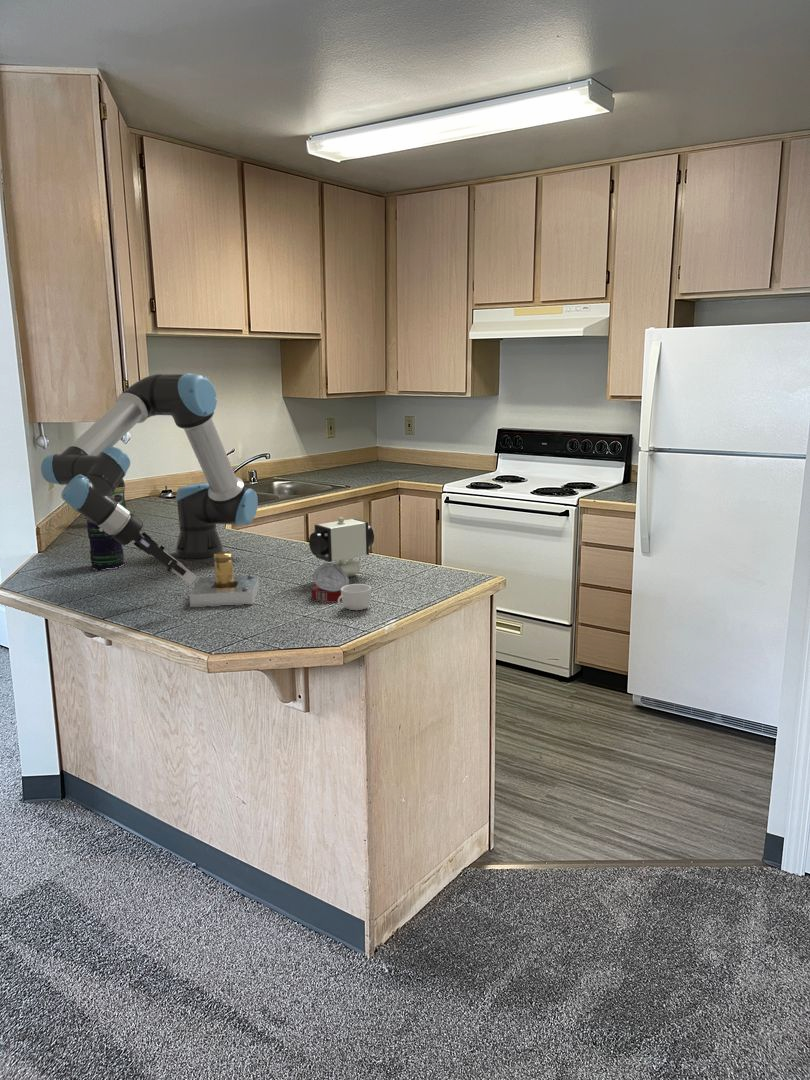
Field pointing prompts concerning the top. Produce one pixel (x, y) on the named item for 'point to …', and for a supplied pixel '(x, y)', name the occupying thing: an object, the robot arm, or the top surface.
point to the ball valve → (342, 543)
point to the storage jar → (104, 548)
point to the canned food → (328, 582)
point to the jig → (224, 592)
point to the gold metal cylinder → (224, 570)
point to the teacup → (355, 596)
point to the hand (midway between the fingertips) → (186, 574)
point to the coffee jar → (119, 493)
